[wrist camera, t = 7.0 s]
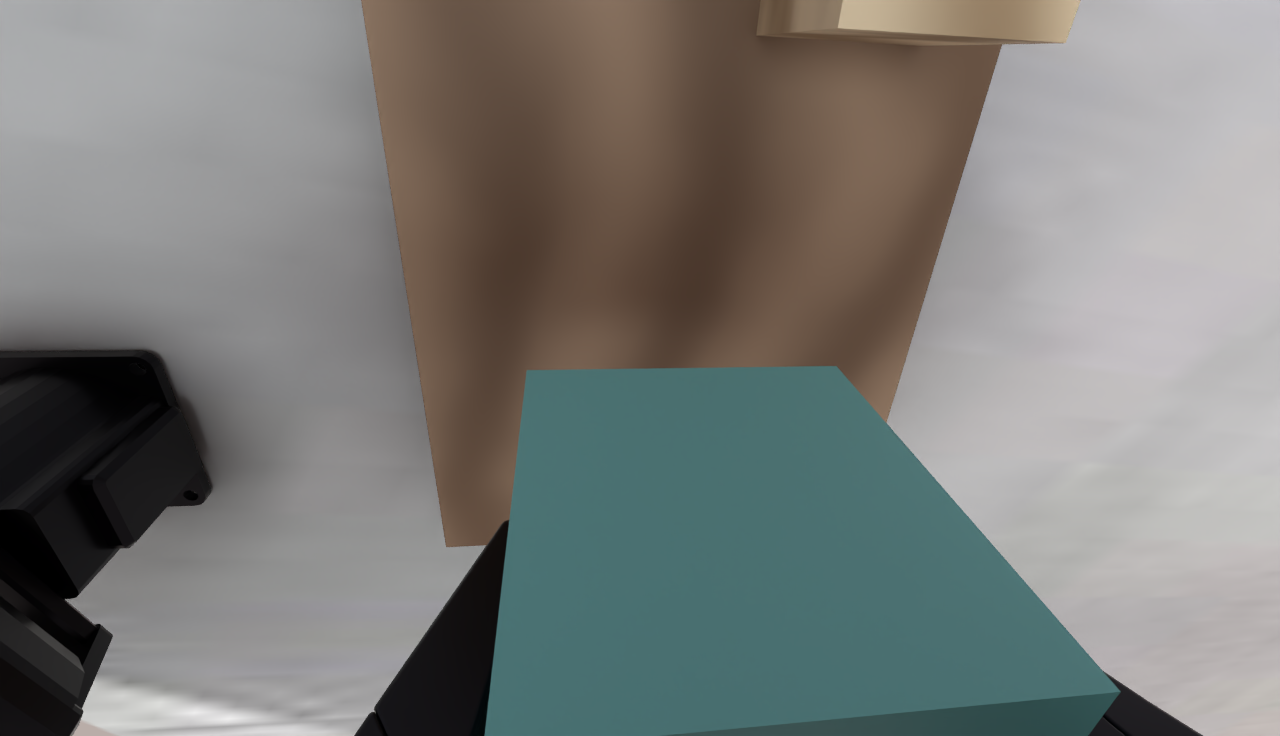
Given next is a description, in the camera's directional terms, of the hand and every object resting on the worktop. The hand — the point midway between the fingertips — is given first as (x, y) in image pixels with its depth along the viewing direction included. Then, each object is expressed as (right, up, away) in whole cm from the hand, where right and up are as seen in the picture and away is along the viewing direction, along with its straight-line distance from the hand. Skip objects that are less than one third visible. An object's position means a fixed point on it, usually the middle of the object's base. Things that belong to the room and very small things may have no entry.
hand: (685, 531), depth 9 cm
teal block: (0, 0, +1) cm, 1 cm away
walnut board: (+1, +7, +11) cm, 13 cm away
